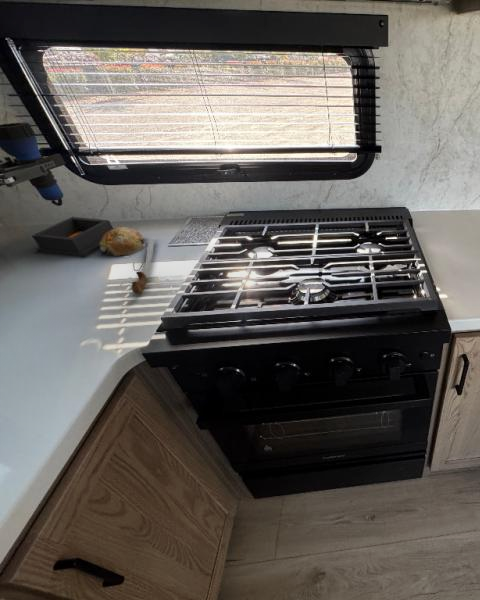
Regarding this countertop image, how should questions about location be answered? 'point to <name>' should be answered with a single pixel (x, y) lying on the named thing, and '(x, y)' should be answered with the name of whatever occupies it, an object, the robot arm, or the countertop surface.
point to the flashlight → (29, 157)
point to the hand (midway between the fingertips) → (52, 158)
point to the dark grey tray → (73, 237)
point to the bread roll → (121, 241)
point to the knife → (143, 271)
